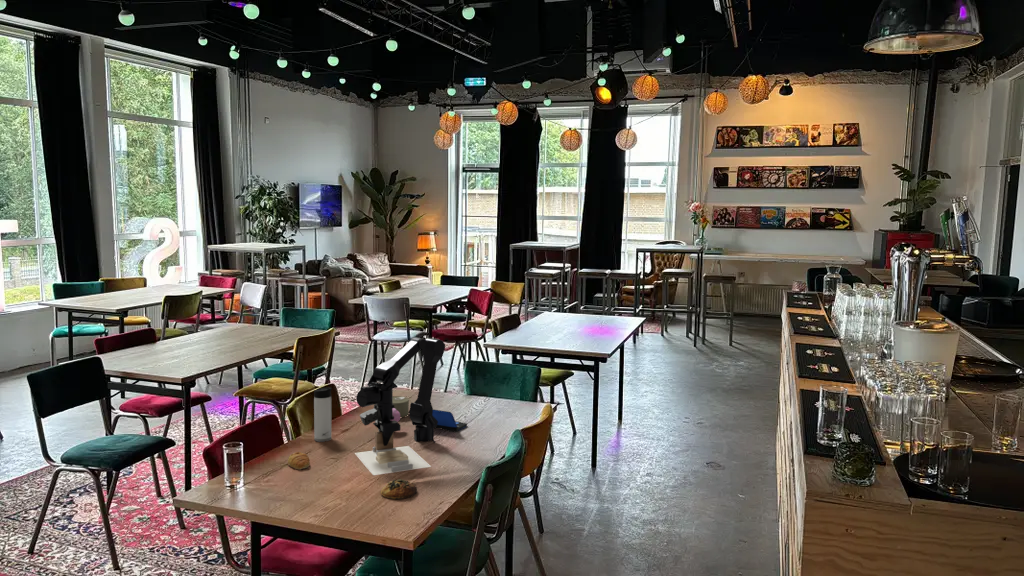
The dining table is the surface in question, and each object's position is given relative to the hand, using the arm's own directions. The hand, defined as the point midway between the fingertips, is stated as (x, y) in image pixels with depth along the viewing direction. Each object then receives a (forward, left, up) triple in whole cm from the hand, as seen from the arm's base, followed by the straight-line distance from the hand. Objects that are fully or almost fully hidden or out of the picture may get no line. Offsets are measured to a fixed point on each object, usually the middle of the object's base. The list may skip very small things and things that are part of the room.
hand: (384, 444), depth 250 cm
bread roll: (+6, +36, -4) cm, 37 cm away
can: (-19, -48, -4) cm, 52 cm away
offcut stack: (0, +9, -3) cm, 9 cm away
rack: (0, +9, -4) cm, 10 cm away
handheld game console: (-31, -22, -4) cm, 39 cm away
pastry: (+29, -1, -4) cm, 29 cm away
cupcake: (-9, -24, -4) cm, 26 cm away
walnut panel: (0, 0, -2) cm, 2 cm away
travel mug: (+16, -26, -4) cm, 31 cm away
